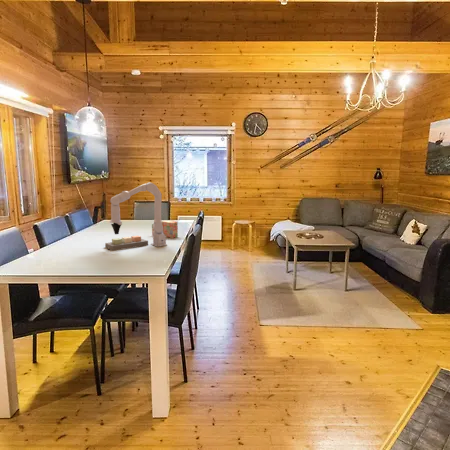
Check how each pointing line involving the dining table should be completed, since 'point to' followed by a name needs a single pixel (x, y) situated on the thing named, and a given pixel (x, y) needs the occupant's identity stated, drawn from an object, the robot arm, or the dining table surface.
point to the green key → (117, 241)
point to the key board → (126, 245)
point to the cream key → (126, 239)
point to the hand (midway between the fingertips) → (116, 234)
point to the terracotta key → (136, 238)
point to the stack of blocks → (169, 228)
